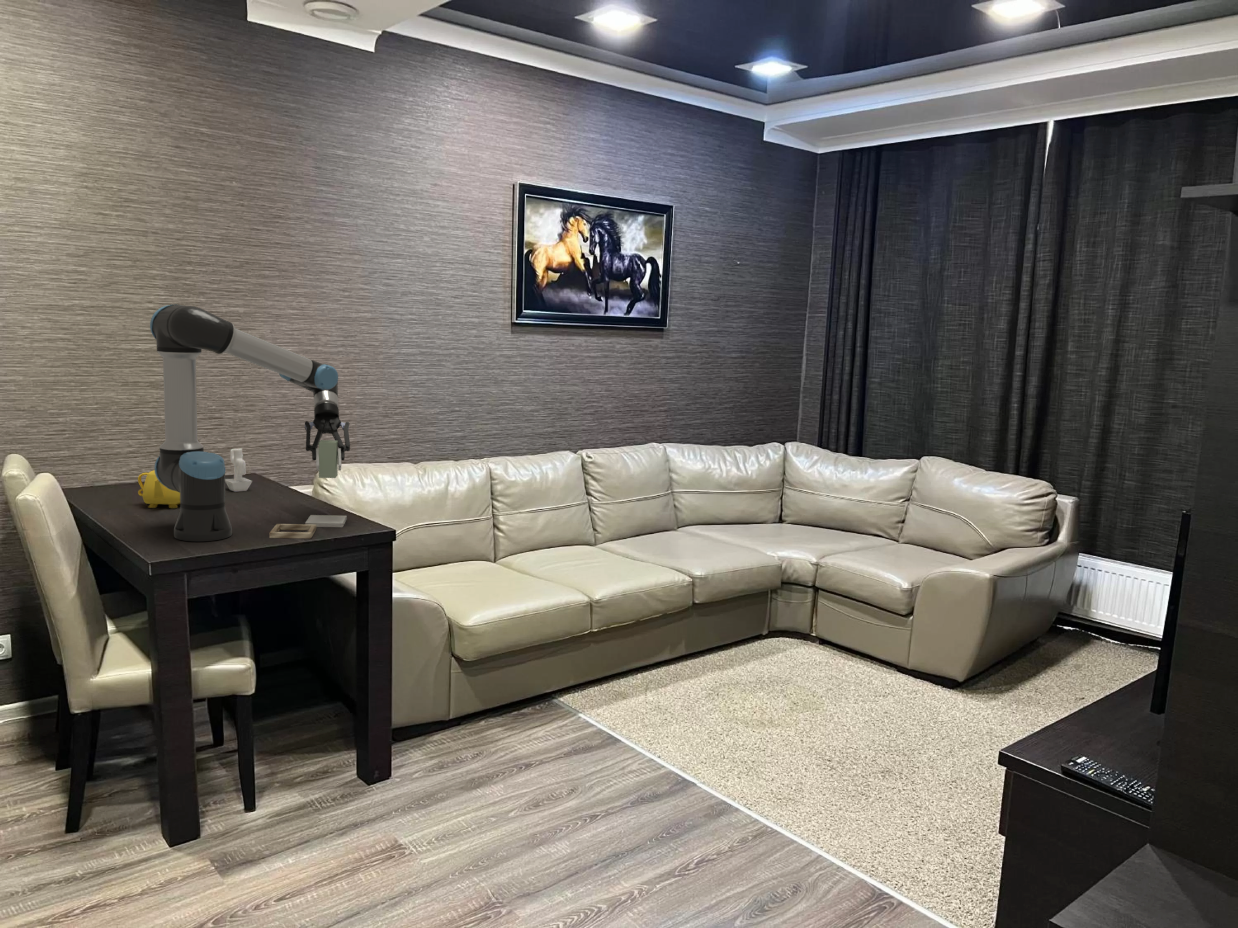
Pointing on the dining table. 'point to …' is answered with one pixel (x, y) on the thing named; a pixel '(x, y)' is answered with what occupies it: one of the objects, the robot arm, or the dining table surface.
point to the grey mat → (326, 520)
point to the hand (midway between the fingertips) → (328, 467)
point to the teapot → (157, 492)
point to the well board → (278, 527)
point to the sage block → (328, 459)
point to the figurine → (238, 472)
